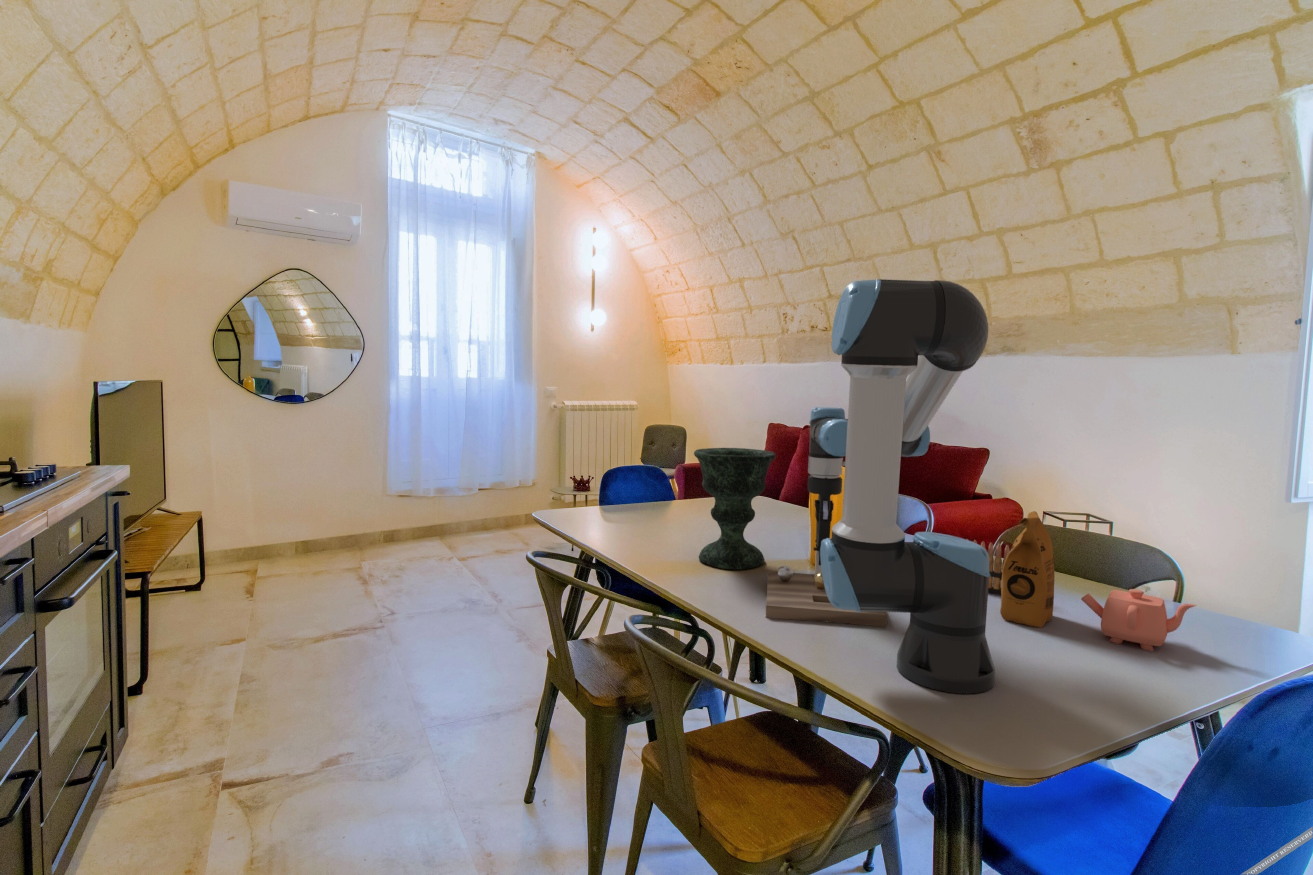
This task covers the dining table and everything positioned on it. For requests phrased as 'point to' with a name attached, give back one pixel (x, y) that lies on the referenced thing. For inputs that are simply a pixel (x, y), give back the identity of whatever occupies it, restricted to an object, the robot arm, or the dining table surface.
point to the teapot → (1136, 617)
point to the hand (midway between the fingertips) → (820, 577)
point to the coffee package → (1029, 576)
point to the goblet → (733, 502)
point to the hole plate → (811, 603)
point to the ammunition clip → (995, 567)
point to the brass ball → (819, 581)
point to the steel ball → (785, 573)
